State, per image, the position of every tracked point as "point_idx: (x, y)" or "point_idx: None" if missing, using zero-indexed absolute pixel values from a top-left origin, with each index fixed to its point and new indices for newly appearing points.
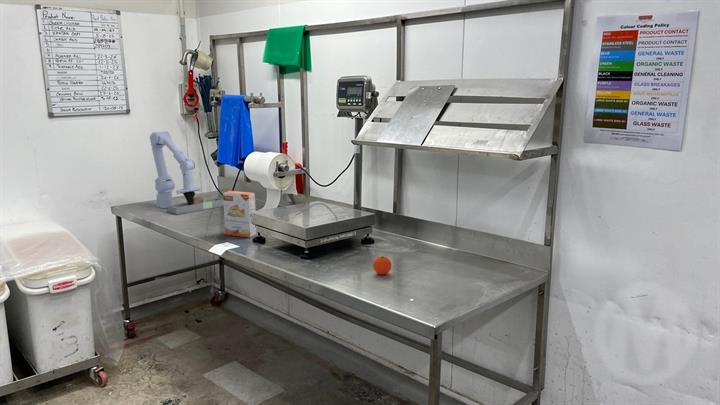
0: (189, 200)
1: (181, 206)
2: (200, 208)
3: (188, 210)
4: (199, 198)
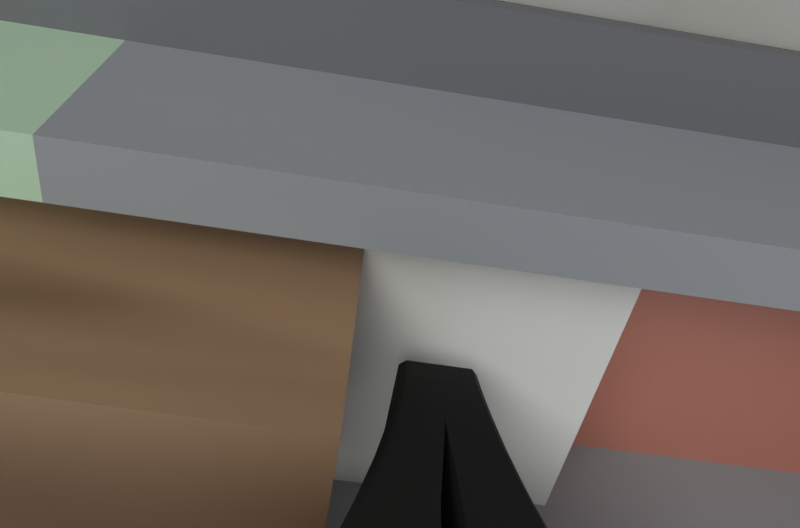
0: (526, 494)
1: (549, 501)
2: (231, 73)
3: (702, 149)
4: (10, 441)
